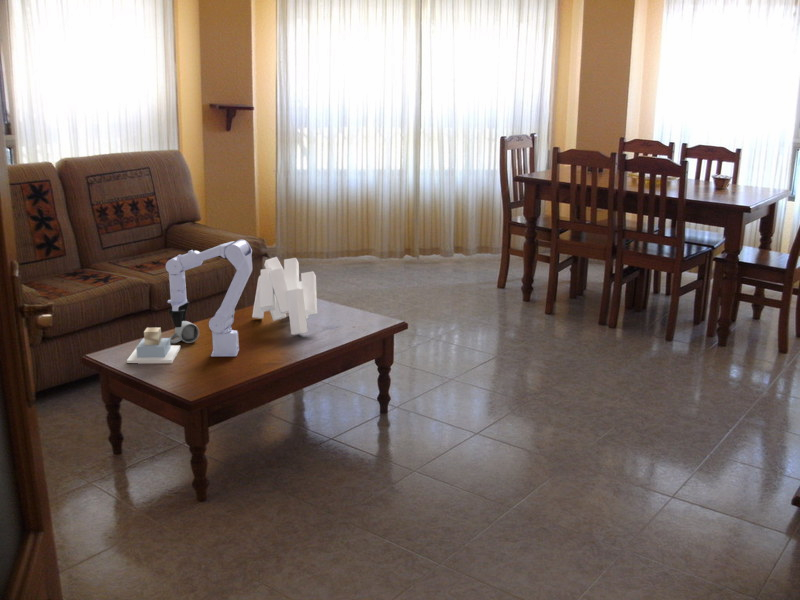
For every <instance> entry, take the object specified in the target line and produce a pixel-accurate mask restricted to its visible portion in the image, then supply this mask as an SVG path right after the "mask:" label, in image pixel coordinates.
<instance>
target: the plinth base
mask: <svg viewBox="0 0 800 600" xmlns="http://www.w3.org/2000/svg"><path fill="white" fill-rule="evenodd" d="M161 339H162V340H161V342H160V344H159V345H145V340H144V337H143V338H142V339H141V340H140V342H139V343H138V344H137V346H136V347H135V349H134V350H133V351H132V353H131V354H130V356H129V357H128V358H127V359H126V364H127V363H138V364H173V362H174V360H175V358H176V357H177V355H178V353H179V351H180V350H181V345H179V344H178V345H176V344H175V345H174V344H171V342H170V337H161Z"/></svg>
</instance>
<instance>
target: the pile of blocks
mask: <svg viewBox="0 0 800 600" xmlns="http://www.w3.org/2000/svg"><path fill="white" fill-rule="evenodd" d="M299 265H300V263H299V261H298V259H297V257H291V258H285V259H283V266H282V263H281V262H280V260H279V258H278V256H275V257H271V258H269V259H265V261H264V265H263V266H264V268H262V269H260V275H259V276H258V278H257V283H256V284H257V285H256V291H255V297H254V303H253V309H252V315H251V317H252V318H253V319H259V320H260V319H262V320H263V319H264V315H265V312H270V315H271V317H272V318H271V319H272V321H273V322H276V321H280V320H283V319H285V318H286V317H287V314H288V316H289V324H290V325H289V326H290V335H293V336H294V335H303V334H307V333H308V332H309V331H308V323H307V320H309V315H315V314H316V315H317V314H318V299H317V296H318V295H317V275H316V273H315V272H314V271H313V270H312V271H307V272H306V271H305V272H301V276H299V275H300V267H299ZM300 277H301V278H300ZM300 279H301V280H300Z"/></svg>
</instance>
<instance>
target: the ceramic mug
mask: <svg viewBox="0 0 800 600" xmlns="http://www.w3.org/2000/svg"><path fill="white" fill-rule="evenodd" d="M174 327H175V326H174ZM174 332H175V333H173V334H172V335H171V336H170V337H169V338H170V344H171V345H174V344H177V343H179V342H181V341H182V342H184V343H186V344H190V343H194V342H195V341H197V339H198V338H199V336H200V329H199V327H198V326H197V325H196V324H195V323H192V322H190V321H187V320H185V321H182V326H181V327H175V328H174Z"/></svg>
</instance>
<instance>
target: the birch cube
mask: <svg viewBox="0 0 800 600" xmlns="http://www.w3.org/2000/svg"><path fill="white" fill-rule="evenodd" d="M143 336H144V337H143V338H144V340H145V345H159V344H160V342H161V340H162V339H161V338H162V329H161V327H146V328H145V329H144V331H143Z"/></svg>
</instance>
